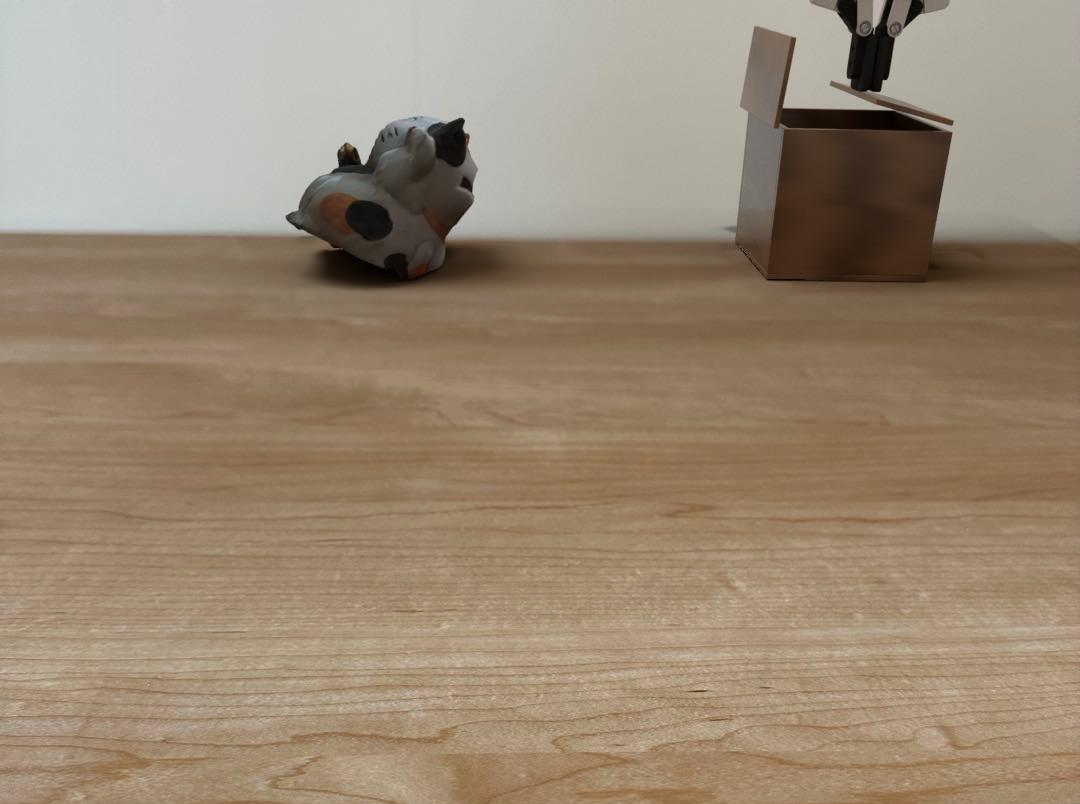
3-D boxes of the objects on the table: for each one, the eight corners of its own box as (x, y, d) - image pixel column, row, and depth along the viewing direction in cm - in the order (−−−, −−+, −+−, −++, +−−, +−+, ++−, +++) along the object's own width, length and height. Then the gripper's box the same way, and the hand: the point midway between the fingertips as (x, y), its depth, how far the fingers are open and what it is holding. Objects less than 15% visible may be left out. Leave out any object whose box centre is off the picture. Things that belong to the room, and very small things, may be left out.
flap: (897, 104, 98) (899, 99, 97) (952, 126, 86) (954, 120, 86) (829, 85, 97) (830, 80, 96) (875, 104, 85) (877, 98, 85)
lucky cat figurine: (322, 238, 99) (391, 88, 96) (442, 304, 99) (515, 155, 96) (258, 223, 85) (337, 45, 82) (399, 300, 84) (483, 124, 81)
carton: (876, 244, 103) (910, 29, 95) (925, 282, 92) (969, 41, 83) (726, 242, 102) (747, 25, 94) (756, 279, 91) (784, 36, 83)
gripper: (987, -172, 86) (940, 87, 95) (792, -180, 85) (762, 82, 94) (1029, -182, 79) (974, 98, 88) (818, -191, 79) (783, 93, 87)
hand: (865, 89), depth 91 cm, fingers closed
